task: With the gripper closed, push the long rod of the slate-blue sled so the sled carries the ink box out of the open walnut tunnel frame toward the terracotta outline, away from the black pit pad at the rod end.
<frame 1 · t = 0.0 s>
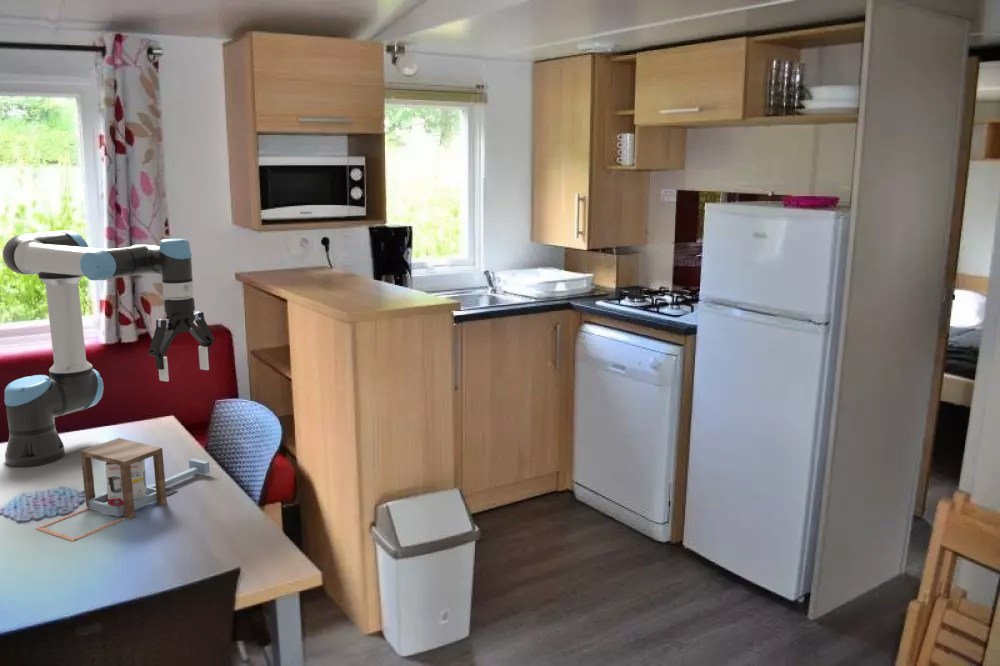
hand: (184, 375, 222), 28 cm above the table, fingers open, 13 cm apart
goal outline: (81, 523, 195), on the table
pit pad: (157, 491, 214), on the table
tunnel frame: (126, 504, 206), on the table
sled: (155, 484, 213), point 2 cm above the table, slide at 0.0 cm
ink box: (128, 505, 206), resting in sled
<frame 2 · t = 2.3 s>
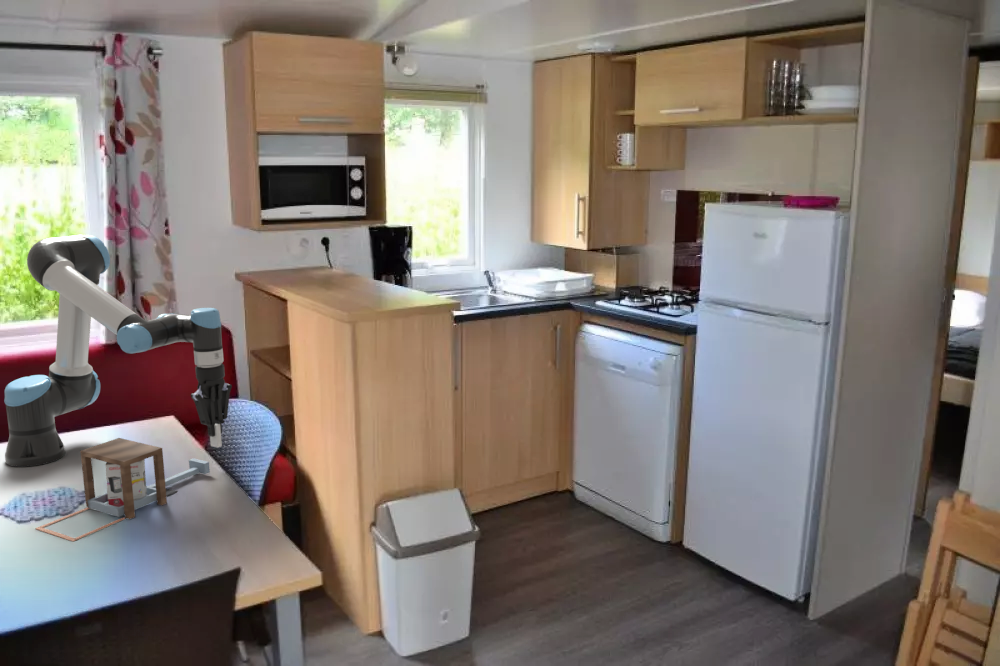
hand: (216, 446, 230), 6 cm above the table, fingers closed
nothing on the table moved.
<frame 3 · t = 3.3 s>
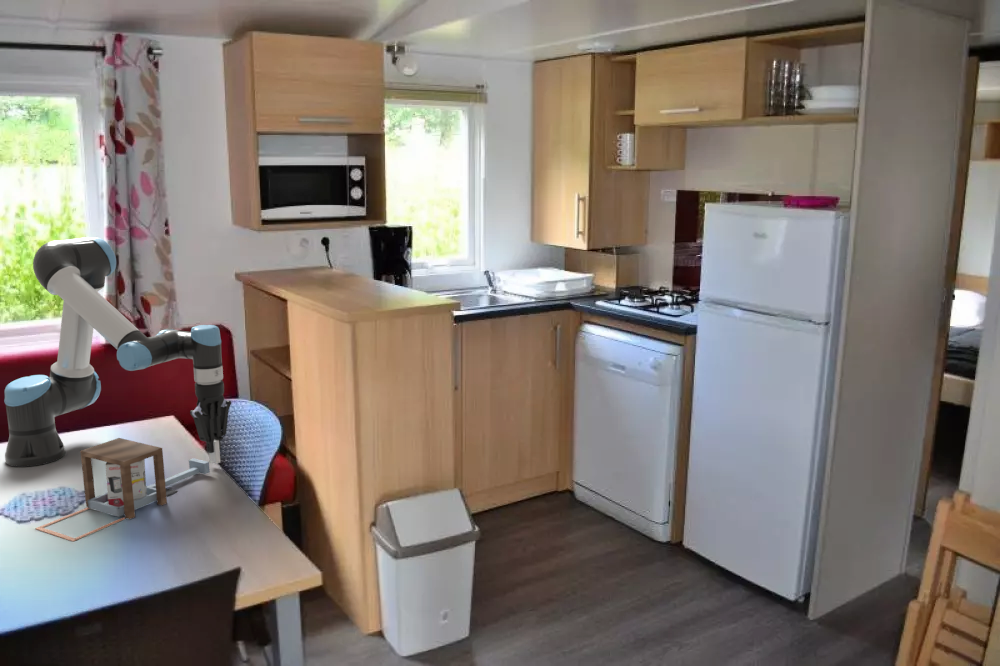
hand: (214, 462, 230), 2 cm above the table, fingers closed
nothing on the table moved.
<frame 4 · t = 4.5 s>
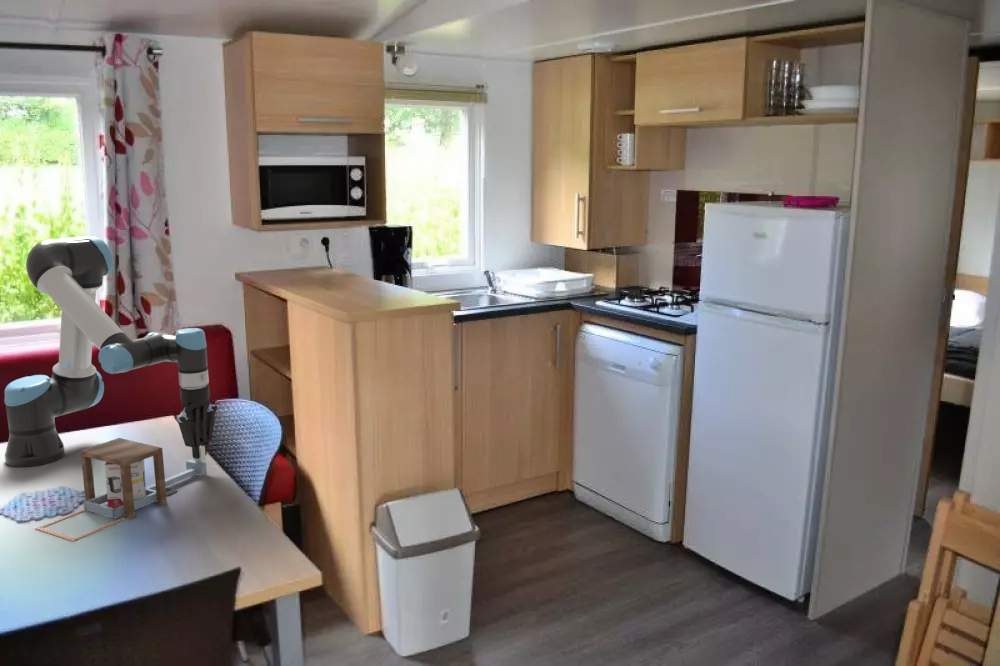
hand: (200, 468, 226), 2 cm above the table, fingers closed
sled: (151, 485, 212), point 2 cm above the table, slide at 1.0 cm, touching gripper, ink box
ink box: (128, 505, 206), resting in sled
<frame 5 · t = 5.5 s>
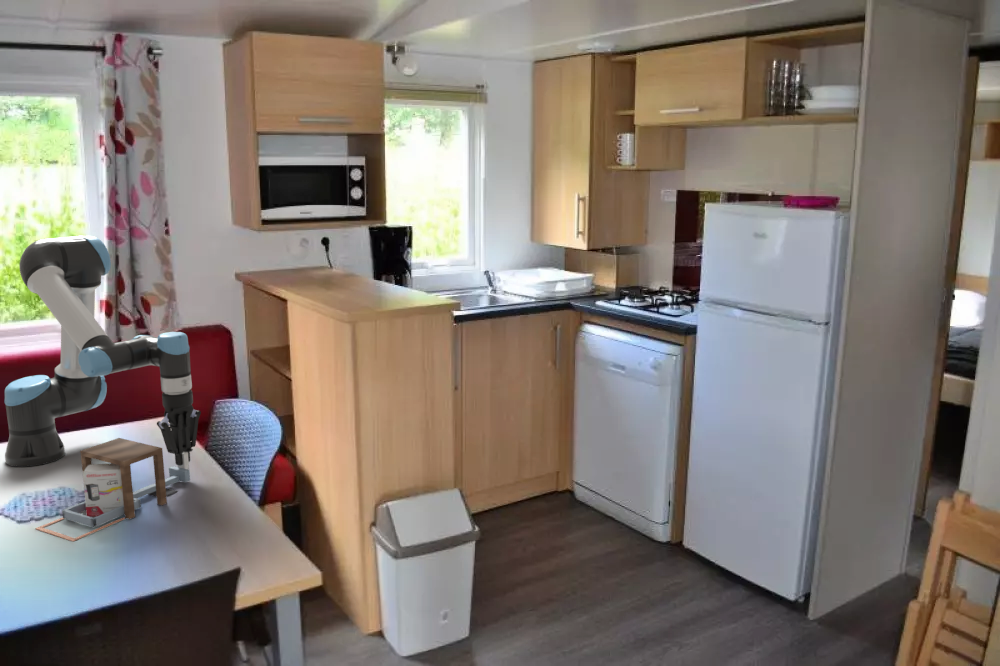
hand: (184, 474, 221), 2 cm above the table, fingers closed
sled: (132, 493, 207), point 2 cm above the table, slide at 6.8 cm, touching gripper, ink box
ink box: (107, 513, 201), resting in sled
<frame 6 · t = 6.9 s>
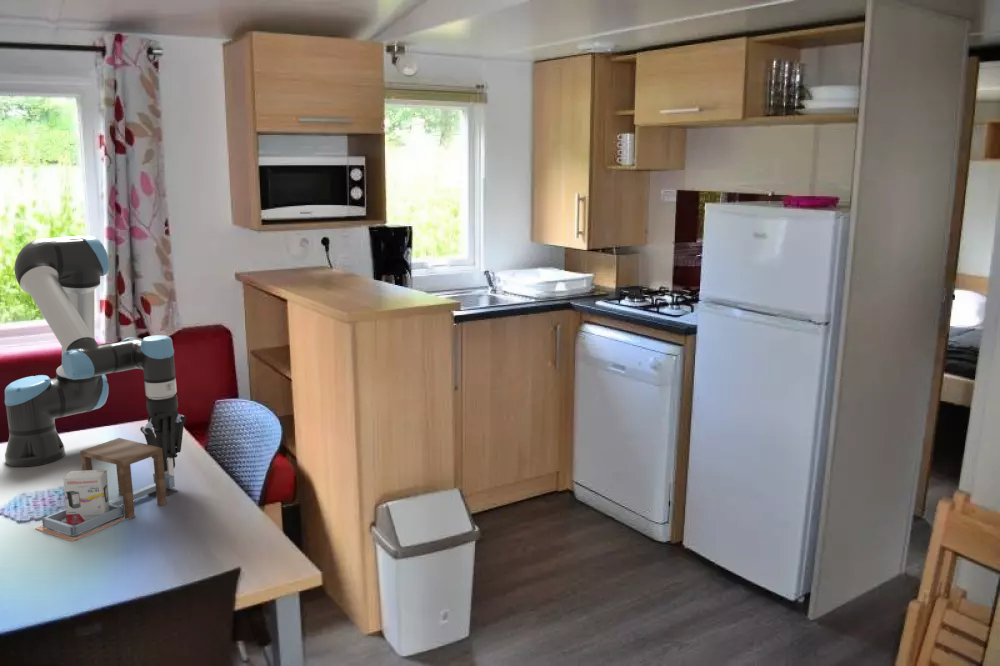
hand: (168, 481, 217), 2 cm above the table, fingers closed
sled: (115, 500, 203), point 2 cm above the table, slide at 11.8 cm, touching gripper, ink box
ink box: (89, 520, 197), resting in sled
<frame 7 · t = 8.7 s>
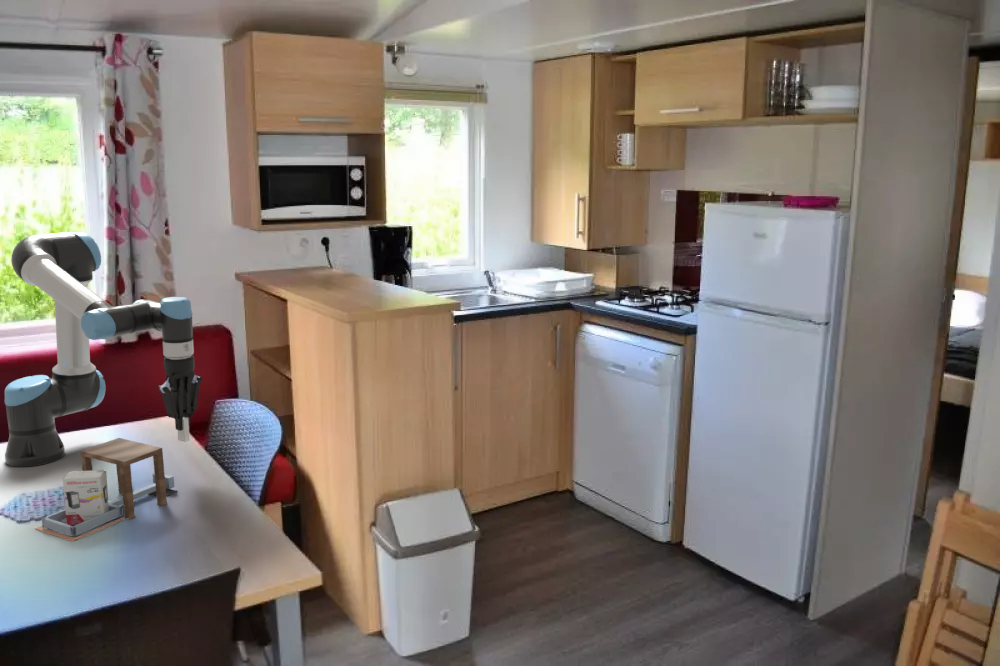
hand: (183, 440, 222), 11 cm above the table, fingers closed
sled: (115, 500, 203), point 2 cm above the table, slide at 12.0 cm
ink box: (88, 521, 197), resting in sled
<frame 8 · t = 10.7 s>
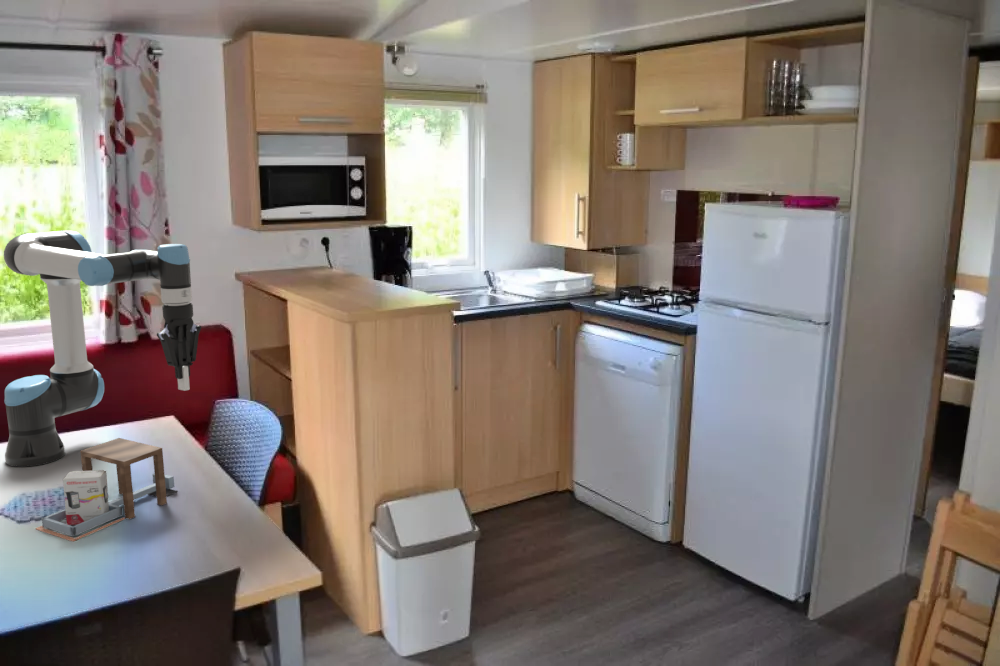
hand: (184, 389, 221), 24 cm above the table, fingers closed
nothing on the table moved.
at the end: sled slide at 12.0 cm; ink box inside the target area (3.6 cm from its centre), resting in sled; ink box tilted 0° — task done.
